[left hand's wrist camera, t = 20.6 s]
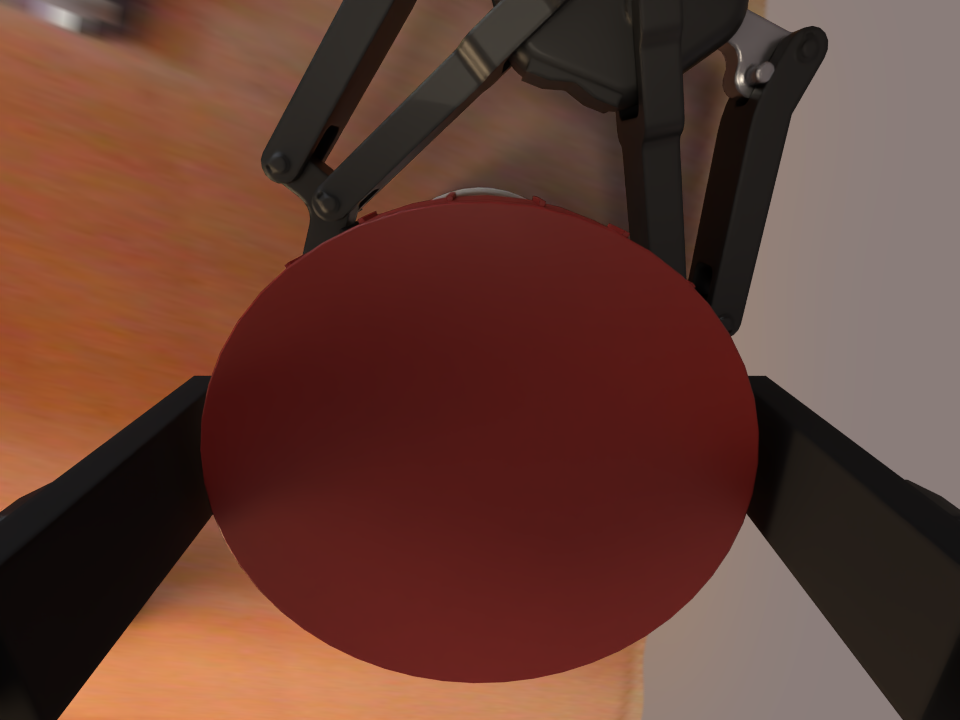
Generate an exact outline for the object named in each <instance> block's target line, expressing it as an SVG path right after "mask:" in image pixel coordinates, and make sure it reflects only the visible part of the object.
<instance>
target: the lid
mask: <svg viewBox="0 0 960 720" xmlns="http://www.w3.org/2000/svg"><path fill="white" fill-rule="evenodd" d="M545 203H546V201H544V200H542V199H541V198H539V197H536V196H533V198H532V200H528V199H523V198H512V197H502V196H492V195H477V196H456V192H450V193H449V194H448V195H447V196H446V197H445V198H439V199H434V200H428V201H423V202H417V203H412V204H409V205H406V206H403V207H400V208H397V209H394V210H391V211H388V212H385V213H382V214H379V215H378V214H377V212H376V211H375V212H372V213H370V214H368V215H366V216H364V217H362V218H359V219H358V222H359V224H358V225H356V226H354V227H352V228H350V229H348V230H346V231H344V232H342V233H340V234H338V235H336V236H335V237H333V238H331V239H329V240H327V241H325V242H323V243H321V244H320V245H318V246H317V247H316V248H314V249H313V250H311V251H310V252H307V253H305V254H304V255H302V256H300V257H298V258H296V259H294V260H292V261H290V262H288V263H287V264H286V265H285V267H286V269H285V270H284V271H283V272H282V273H281V274H280V275H279V276H278V277H276V278H275V279H274V280H273V281H272V282H271V283H270V284H269V285H268V286H267V287H266V288H265V289H264V290H263V291H261V293H260V294H259V295H258V296H257V298H256V299H255V300H254V301H253V303H252V304H251V305H250V306H249V308H248V309H247V310H246V312H245V313H244V314H243V315H242V317H241V318H240V319H239V320H238V322H237V324H236V325H235V327H234V329H233V331H232V333H231V334H230V336H229V338H228V340H227V341H226V343H225V345H224V347H223V349H222V350H221V352H220V355H219V357H218V360H217V363H216V365H215V368H214V371H213V373H212V376H211V379H210V382H209V384H208V389H207V394H206V399H205V404H204V409H203V414H202V423H201V449H200V451H201V460H202V468H203V477H204V483H205V487H206V491H207V495H208V498H209V502H210V506H211V509H212V513H213V515H214V517H215V520H216V522H217V524H218V527H219V529H220V531H221V534H222V536H223V538H224V540H225V542H226V544H227V545H228V547H229V549H230V550H231V552H232V554H233V555H234V557H235V559H236V560H237V562H238V564H239V565H240V567H241V568H242V569H243V570H244V572H245V573H246V574H247V576H248V577H249V578H250V579H251V581H252V582H253V583H254V584H255V586H256V587H257V588H258V589H259V590H260V591H261V592H262V593H263V594H264V595H265V596H266V597H267V598H268V599H269V600H270V601H271V602H272V603H273V604H274V605H275V606H276V607H277V608H278V609H279V610H280V611H281V612H282V613H284V614H285V615H286V616H287V617H289V618H290V619H291V620H292V621H294V622H295V623H296V624H298V625H299V626H300V627H301V628H303V629H304V630H306V631H307V632H309V633H310V634H312V635H314V636H315V637H317V638H319V639H320V640H322V641H323V642H325V643H327V644H328V645H330V646H332V647H334V648H336V649H338V650H340V651H342V652H344V653H346V654H348V655H351V656H353V657H355V658H357V659H360V660H362V661H365V662H368V663H370V664H373V665H376V666H379V667H381V668H384V669H388V670H392V671H395V672H399V673H403V674H407V675H411V676H415V677H422V678H428V679H434V680H440V681H451V682H466V683H492V682H509V681H518V680H526V679H534V678H539V677H543V676H548V675H552V674H557V673H561V672H565V671H568V670H571V669H574V668H578V667H581V666H584V665H587V664H590V663H593V662H595V661H597V660H600V659H602V658H604V657H607V656H609V655H611V654H613V653H616V652H618V651H620V650H622V649H624V648H625V647H627V646H629V645H631V644H633V643H634V642H636V641H638V640H640V639H641V638H643V637H645V636H647V635H648V634H649V633H651V632H652V631H654V630H655V629H656V628H658V627H659V626H661V625H662V624H663V623H665V622H666V621H667V620H669V619H670V618H671V617H673V616H674V615H675V614H676V613H677V612H678V611H679V610H680V609H681V608H683V607H684V606H685V605H686V604H687V603H688V602H689V601H690V600H691V599H693V597H694V596H695V595H696V594H697V593H698V592H699V591H700V589H701V588H702V587H703V586H704V585H705V584H706V583H707V581H708V580H709V579H710V578H711V577H712V576H713V574H714V573H715V571H716V570H717V568H718V567H719V565H720V564H721V562H722V561H723V559H724V558H725V556H726V555H727V553H728V552H729V550H730V548H731V546H732V544H733V542H734V540H735V538H736V536H737V534H738V532H739V530H740V528H741V526H742V524H743V522H744V519H745V516H746V513H747V510H748V507H749V504H750V501H751V498H752V495H753V490H754V484H755V479H756V473H757V467H758V451H759V428H758V421H757V413H756V405H755V398H754V395H753V391H752V388H751V385H750V381H749V378H748V375H747V371H746V368H745V365H744V363H743V361H742V359H741V357H740V355H739V353H738V350H737V348H736V346H735V344H734V342H733V340H732V338H731V336H730V334H729V332H728V331H727V329H726V328H725V327H724V325H723V324H722V322H721V321H720V319H719V318H718V316H717V315H716V314H715V312H714V311H713V309H712V308H711V306H710V305H709V304H708V302H707V301H706V300H705V299H704V298H703V297H702V296H701V295H700V294H699V293H698V292H697V291H696V290H695V289H694V288H695V287H696V286H695V285H694V284H693V283H692V282H690V281H688V280H686V279H685V278H684V277H683V276H682V275H681V274H679V273H678V272H677V271H675V270H674V269H673V268H672V267H670V266H669V265H668V264H666V263H665V262H664V261H663V260H661V259H660V258H659V257H657V256H656V255H655V254H654V253H652V252H651V251H649V250H648V249H646V248H644V247H642V246H640V245H639V244H637V243H635V242H633V241H632V240H630V239H628V236H629V235H630V233H628V232H627V231H625V230H623V229H620V228H618V227H616V226H614V225H612V224H610V223H609V224H608V226H607V227H606V226H604V225H602V224H600V223H598V222H596V221H594V220H592V219H589V218H587V217H584V216H582V215H579V214H577V213H574V212H571V211H569V210H566V209H564V208H561V207H557V206H553V205H549V204H545Z"/></svg>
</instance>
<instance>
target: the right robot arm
mask: <svg viewBox="0 0 960 720" xmlns="http://www.w3.org/2000/svg"><path fill="white" fill-rule="evenodd" d="M416 1H417V0H343V2H342V4H341V6H340V8H339V10H338V12H337V13H336V15H335V17H334V19H333V21H332V23H331V25H330V27H329V29H328V30H327V32H326V34H325V36H324V38H323V40H322V42H321V44H320V46H319V47H318V49H317V51H316V53H315V55H314V57H313V59H312V61H311V63H310V64H309V66H308V68H307V70H306V72H305V74H304V76H303V78H302V80H301V81H300V83H299V85H298V87H297V89H296V91H295V93H294V95H293V97H292V99H291V100H290V102H289V104H288V106H287V108H286V110H285V112H284V114H283V116H282V117H281V119H280V121H279V123H278V125H277V127H276V129H275V131H274V133H273V134H272V136H271V138H270V140H269V142H268V144H267V146H266V148H265V150H264V151H263V154H262V158H261V164H262V169H263V171H264V173H265V175H266V176H267V177H268V178H269V179H270V180H272V181H274V182H276V183H282V184H283V185H284V186H286V187H287V188H288V189H289V190H291V191H292V192H293V193H295V194H296V195H297V196H298V197H300V198H301V199H302V200H303V201H304V203H305V204H306V206H307V208H308V210H309V213H310V225H309V229H308V234H307V238H306V242H305V247H304V251H303V255H304V254H305V253H307V252H310V251H311V250H313V249H314V248H316V247H317V246H318V245H320V244H321V243H323V242H325V241H327V240H329V239H331V238H333V237H335V236H336V235H338V234H340V233H342V232H344V231H346V230H348V229H350V228H352V227H354V226H356V225H358V224H359V222H358V221H356V217H357V213H358V212H359V211H361V210H363V209H362V207H363V206H364V205H365V204H366V203H368V202H369V201H370V200H371V199H372V198H373V197H374V196H375V195H376V194H377V193H378V192H379V191H380V190H381V189H382V188H383V187H384V186H385V185H386V184H387V183H388V182H389V181H391V180H392V179H393V178H394V177H395V176H396V175H397V174H398V173H399V172H400V171H401V170H402V169H403V168H404V167H405V166H406V165H407V164H408V163H409V162H410V161H411V160H413V159H414V158H415V157H416V156H417V155H418V154H419V153H420V152H421V151H422V150H423V149H424V148H425V147H426V146H427V145H428V144H429V143H430V142H431V141H432V140H433V139H434V138H436V137H437V136H438V135H439V134H440V133H441V132H442V131H443V130H444V129H445V128H446V127H447V126H448V125H449V124H450V123H451V122H452V121H453V120H454V119H455V118H456V117H458V116H459V115H460V114H461V113H462V112H463V111H464V110H465V109H466V108H467V107H468V106H469V105H470V104H471V103H472V102H473V101H474V100H475V99H476V98H477V97H478V96H480V95H481V94H482V93H483V92H484V91H485V90H487V89H488V88H489V87H491V86H492V85H493V84H494V83H495V82H496V81H497V80H498V79H499V78H500V77H501V76H502V75H503V74H504V73H505V72H506V71H507V70H508V69H510V68H511V67H513V68H514V70H515V71H516V72H517V73H518V74H519V75H521V76H522V81H524V82H527V83H529V84H532V85H534V86H537V87H539V88H542V89H553V90H564V91H566V92H568V93H569V94H570V95H571V96H573V97H574V98H575V99H576V100H578V101H579V102H580V103H581V104H583V105H584V106H587V107H589V108H592V109H594V110H597V111H599V112H602V113H606V112H608V111H616V121H617V132H618V138H619V142H620V144H621V146H622V151H623V162H624V174H625V185H626V197H627V209H628V221H629V232H630V240H632V241H633V242H635V243H637V244H639V245H640V246H642V247H644V248H646V249H648V250H649V251H651V252H652V253H654V254H655V255H656V256H657V257H659V258H660V259H661V260H663V261H664V262H665V263H666V264H668V265H669V266H670V267H672V268H673V269H674V270H675V271H677V272H678V273H679V274H681V275H682V276H683V277H684V278H685V279H686V261H685V241H684V220H683V199H682V178H681V157H680V136H681V134H682V131H683V128H684V94H683V74H684V73H685V72H686V71H688V70H689V69H691V68H692V67H693V66H695V65H696V64H698V63H699V62H700V61H702V60H703V59H705V58H706V57H707V56H709V55H710V54H712V53H713V52H714V51H716V50H717V49H718V50H719V51H721V52H722V54H723V55H724V57H725V61H726V70H725V74H724V78H723V89H724V92H725V93H726V95H727V96H728V97H730V98H729V100H728V102H727V104H726V107H725V109H724V112H723V115H722V118H721V121H720V125H719V129H718V133H717V138H716V143H715V148H714V153H713V158H712V163H711V168H710V173H709V178H708V183H707V188H706V193H705V199H704V204H703V209H702V214H701V219H700V224H699V229H698V234H697V239H696V244H695V249H694V254H693V259H692V264H691V269H690V274H689V279H688V281H690V282H692V283H693V284H694V285H695V286H696V287H695V288H694V289H695V290H696V291H697V292H698V293H699V294H700V295H701V296H702V297H703V298H704V299H705V300H706V301H707V302H708V304H709V305H710V306H711V308H712V309H713V311H714V312H715V314H716V315H717V316H718V318H719V319H720V321H721V322H722V324H723V325H724V327H725V328H726V329H727V331H728V332H729V334H730V336H732V335H734V334H735V333H736V332H737V331H738V329H739V327H740V325H741V321H742V317H743V313H744V309H745V305H746V300H747V297H748V293H749V288H750V284H751V280H752V276H753V272H754V268H755V264H756V260H757V255H758V251H759V247H760V243H761V238H762V235H763V230H764V227H765V222H766V218H767V214H768V210H769V206H770V202H771V198H772V194H773V189H774V185H775V181H776V177H777V173H778V169H779V165H780V161H781V156H782V152H783V148H784V144H785V140H786V136H787V132H788V128H789V123H790V119H791V115H792V113H793V111H794V109H795V108H796V106H797V104H798V103H799V101H800V99H801V97H802V96H803V94H804V92H805V90H806V89H807V87H808V85H809V84H810V82H811V80H812V78H813V77H814V75H815V73H816V71H817V70H818V68H819V66H820V65H821V63H822V61H823V59H824V57H825V55H826V52H827V50H828V39H827V36H826V34H825V32H824V31H823V30H822V29H821V28H819V27H815V26H810V27H805V28H803V29H800V30H798V31H795V32H789V31H787V30H785V29H783V28H781V27H779V26H778V25H776V24H774V23H772V22H770V21H768V20H766V19H765V18H763V17H761V16H759V15H757V14H755V13H754V12H752V11H750V10H748V9H747V8H748V1H749V0H492V2H493V7H494V8H493V9H492V10H491V11H490V12H489V13H488V14H487V15H486V16H485V17H484V18H483V19H482V20H481V21H480V22H479V23H478V24H477V25H476V26H475V27H474V28H473V29H472V30H471V31H470V32H469V33H468V34H467V35H466V36H465V38H464V39H463V40H462V42H461V43H460V45H459V46H458V47H457V49H456V50H455V51H454V52H453V53H452V54H451V55H450V56H449V57H448V58H447V59H446V60H445V61H444V62H443V63H442V64H441V65H440V66H439V67H438V68H437V69H436V70H435V71H434V72H433V73H432V74H431V75H430V76H429V77H428V78H427V79H426V80H425V81H424V82H423V83H422V84H421V85H420V86H419V87H418V88H417V89H416V90H415V91H414V92H413V93H412V94H411V95H410V96H409V97H408V98H407V99H406V100H405V101H404V102H403V103H402V104H401V105H400V106H399V107H398V108H397V109H396V110H395V111H394V112H393V113H392V114H391V115H390V116H389V117H388V118H387V119H386V120H385V121H384V122H383V123H382V124H381V125H380V126H379V127H378V128H377V129H376V130H375V131H374V132H373V133H372V134H371V135H370V136H369V137H368V138H367V139H366V140H365V141H364V142H363V143H362V144H361V145H360V146H359V147H358V148H357V149H356V150H355V151H354V152H353V153H352V154H351V155H350V156H349V157H348V158H347V159H346V160H345V161H344V162H343V163H342V164H341V165H340V166H339V167H338V168H337V169H336V170H335V171H334V170H333V169H331V168H330V167H329V166H328V165H326V164H325V163H324V162H325V161H326V159H327V157H328V155H329V154H330V152H331V150H332V149H333V147H334V145H335V143H336V142H337V140H338V138H339V136H340V135H341V133H342V131H343V129H344V128H345V126H346V124H347V122H348V121H349V119H350V117H351V115H352V114H353V112H354V110H355V108H356V107H357V105H358V103H359V101H360V100H361V98H362V96H363V94H364V93H365V91H366V89H367V87H368V86H369V84H370V82H371V80H372V79H373V77H374V75H375V73H376V72H377V70H378V68H379V66H380V65H381V63H382V61H383V59H384V58H385V56H386V54H387V52H388V51H389V49H390V47H391V45H392V44H393V42H394V40H395V38H396V37H397V35H398V33H399V31H400V30H401V28H402V26H403V24H404V23H405V21H406V19H407V17H408V16H409V14H410V12H411V10H412V9H413V7H414V5H415V3H416ZM355 221H356V222H355Z"/></svg>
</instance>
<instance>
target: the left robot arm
mask: <svg viewBox="0 0 960 720" xmlns="http://www.w3.org/2000/svg"><path fill="white" fill-rule="evenodd" d="M748 378H749V381H750V385H751V388H752V391H753V395H754V398H755V405H756V413H757V421H758V428H759V451H758V467H757V473H756V479H755V484H754V490H753V495H752V498H751V501H750V504H749V507H748V510H747V515H748V516H749V517H750V519H751V520H752V521H753V523H754V524H755V525H756V527H757V528H758V529H759V531H760V532H761V533H762V535H763V536H764V537H765V539H766V540H767V541H768V542H769V544H770V545H771V546H772V548H773V549H774V550H775V552H776V553H777V554H778V556H779V557H780V558H781V560H782V561H783V562H784V564H785V565H786V566H787V568H788V569H789V570H790V572H791V573H792V574H793V576H794V577H795V578H796V579H797V581H798V582H799V583H800V585H801V586H802V587H803V589H804V590H805V591H806V593H807V594H808V595H809V597H810V598H811V599H812V601H813V602H814V603H815V605H816V606H817V607H818V608H819V610H820V611H821V612H822V614H823V615H824V616H825V618H826V619H827V620H828V622H829V623H830V624H831V626H832V627H833V628H834V630H835V631H836V632H837V634H838V635H839V636H840V638H841V639H842V640H843V641H844V643H845V644H846V645H847V647H848V648H849V649H850V651H851V652H852V653H853V655H854V656H855V657H856V659H857V660H858V661H859V663H860V664H861V665H862V667H863V668H864V669H865V670H866V672H867V673H868V674H869V676H870V677H871V678H872V680H873V681H874V682H875V684H876V685H877V686H878V688H879V689H880V690H881V692H882V693H883V694H884V695H885V697H886V698H887V699H888V701H889V702H890V703H891V705H892V706H893V707H894V709H895V710H896V711H897V713H898V714H899V715H900V717H901V718H902V719H903V720H960V509H958V508H957V507H955V506H954V505H953V504H951V503H950V502H948V501H947V500H946V499H944V498H943V497H942V496H940V495H937V494H935V493H934V492H931V491H929V490H927V489H925V488H923V487H921V486H919V485H917V484H915V483H913V482H911V481H909V480H904V479H903V478H901V477H900V476H899V475H897V474H896V473H895V472H893V471H892V470H891V469H889V468H888V467H887V466H885V465H884V464H883V463H881V462H880V461H879V460H877V459H876V458H875V457H873V456H872V455H871V454H869V453H868V452H867V451H865V450H864V449H863V448H861V447H860V446H859V445H857V444H856V443H855V442H853V441H852V440H851V439H849V438H848V437H847V436H845V435H844V434H843V433H841V432H840V431H839V430H837V429H836V428H835V427H833V426H832V425H831V424H829V423H828V422H827V421H825V420H824V419H823V418H821V417H820V416H819V415H817V414H816V413H815V412H813V411H812V410H811V409H809V408H808V407H807V406H805V405H804V404H803V403H801V402H800V401H799V400H797V399H796V398H795V397H793V396H792V395H791V394H789V393H788V392H787V391H785V390H784V389H783V388H781V387H780V386H779V385H777V384H776V383H775V382H773V381H772V380H771V379H769V378H768V377H767V376H748ZM210 379H211V376H193V377H192V378H191V379H189V380H188V381H187V382H185V383H184V384H183V385H181V386H180V387H179V388H177V389H176V390H175V391H173V392H172V393H171V394H169V395H168V396H167V397H165V398H164V399H163V400H161V401H160V402H159V403H157V404H156V405H155V406H153V407H152V408H151V409H149V410H148V411H147V412H145V413H144V414H143V415H141V416H140V417H139V418H137V419H136V420H135V421H133V422H132V423H131V424H129V425H128V426H127V427H125V428H124V429H123V430H121V431H120V432H119V433H117V434H116V435H115V436H113V437H112V438H111V439H109V440H108V441H107V442H105V443H104V444H103V445H101V446H100V447H99V448H97V449H96V450H95V451H93V452H92V453H91V454H89V455H88V456H87V457H85V458H84V459H83V460H81V461H80V462H79V463H77V464H76V465H75V466H73V467H72V468H71V469H69V470H68V471H67V472H65V473H64V474H63V475H61V476H60V477H59V478H57V479H56V480H55V481H53V482H51V483H49V484H47V485H45V486H43V487H41V488H39V489H37V490H35V491H33V492H31V493H29V494H27V495H25V496H23V497H21V498H19V499H18V500H16V501H15V502H14V503H12V504H11V505H9V506H8V507H7V508H5V509H4V510H3V511H1V512H0V720H57V719H58V718H59V717H60V715H61V714H62V713H63V711H64V710H65V709H66V707H67V706H68V705H69V703H70V702H71V701H72V700H73V698H74V697H75V696H76V694H77V693H78V692H79V690H80V689H81V688H82V686H83V685H84V684H85V682H86V681H87V680H88V678H89V677H90V676H91V674H92V673H93V672H94V671H95V669H96V668H97V667H98V665H99V664H100V663H101V661H102V660H103V659H104V657H105V656H106V655H107V653H108V652H109V651H110V649H111V648H112V647H113V645H114V644H115V643H116V641H117V640H118V639H119V638H120V636H121V635H122V634H123V632H124V631H125V630H126V628H127V627H128V626H129V624H130V623H131V622H132V620H133V619H134V618H135V616H136V615H137V614H138V612H139V611H140V610H141V608H142V607H143V606H144V605H145V603H146V602H147V601H148V599H149V598H150V597H151V595H152V594H153V593H154V591H155V590H156V589H157V587H158V586H159V585H160V583H161V582H162V581H163V579H164V578H165V577H166V576H167V574H168V573H169V572H170V570H171V569H172V568H173V566H174V565H175V564H176V562H177V561H178V560H179V558H180V557H181V556H182V554H183V553H184V552H185V550H186V549H187V548H188V546H189V545H190V544H191V543H192V541H193V540H194V539H195V537H196V536H197V535H198V533H199V532H200V531H201V529H202V528H203V527H204V525H205V524H206V523H207V521H208V520H209V519H210V517H211V516H212V515H213V513H212V509H211V506H210V502H209V498H208V495H207V491H206V487H205V483H204V477H203V468H202V460H201V451H200V449H201V423H202V414H203V409H204V404H205V399H206V394H207V389H208V384H209V382H210Z"/></svg>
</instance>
